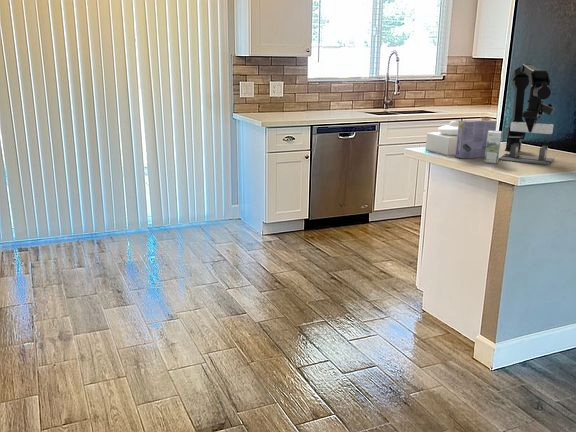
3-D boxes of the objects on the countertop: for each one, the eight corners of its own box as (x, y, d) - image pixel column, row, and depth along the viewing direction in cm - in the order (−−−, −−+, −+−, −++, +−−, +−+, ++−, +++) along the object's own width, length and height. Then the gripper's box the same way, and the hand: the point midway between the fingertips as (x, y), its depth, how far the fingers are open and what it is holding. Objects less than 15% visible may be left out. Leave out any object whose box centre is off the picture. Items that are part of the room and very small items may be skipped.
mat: (497, 160, 261) (497, 158, 261) (501, 157, 267) (501, 156, 267) (548, 165, 250) (548, 164, 250) (550, 163, 255) (550, 161, 255)
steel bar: (509, 130, 264) (511, 122, 262) (511, 130, 267) (512, 121, 266) (551, 134, 254) (552, 125, 253) (552, 133, 257) (553, 124, 256)
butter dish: (447, 155, 272) (450, 123, 267) (425, 149, 288) (427, 118, 283) (475, 153, 278) (479, 121, 274) (452, 147, 294) (455, 117, 290)
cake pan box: (488, 155, 273) (492, 119, 267) (494, 157, 268) (499, 120, 263) (454, 157, 267) (457, 120, 262) (460, 159, 263) (463, 121, 258)
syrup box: (498, 162, 257) (502, 130, 253) (497, 164, 252) (501, 132, 247) (485, 160, 259) (489, 129, 255) (484, 163, 254) (487, 131, 250)
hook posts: (501, 157, 268) (503, 144, 266) (505, 155, 274) (507, 142, 272) (550, 162, 256) (553, 149, 254) (553, 160, 263) (555, 146, 261)
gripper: (551, 100, 244) (546, 135, 249) (557, 97, 259) (552, 130, 264) (524, 98, 250) (520, 133, 254) (532, 96, 265) (527, 129, 270)
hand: (530, 131), depth 260 cm, fingers closed on steel bar, 4 cm apart
